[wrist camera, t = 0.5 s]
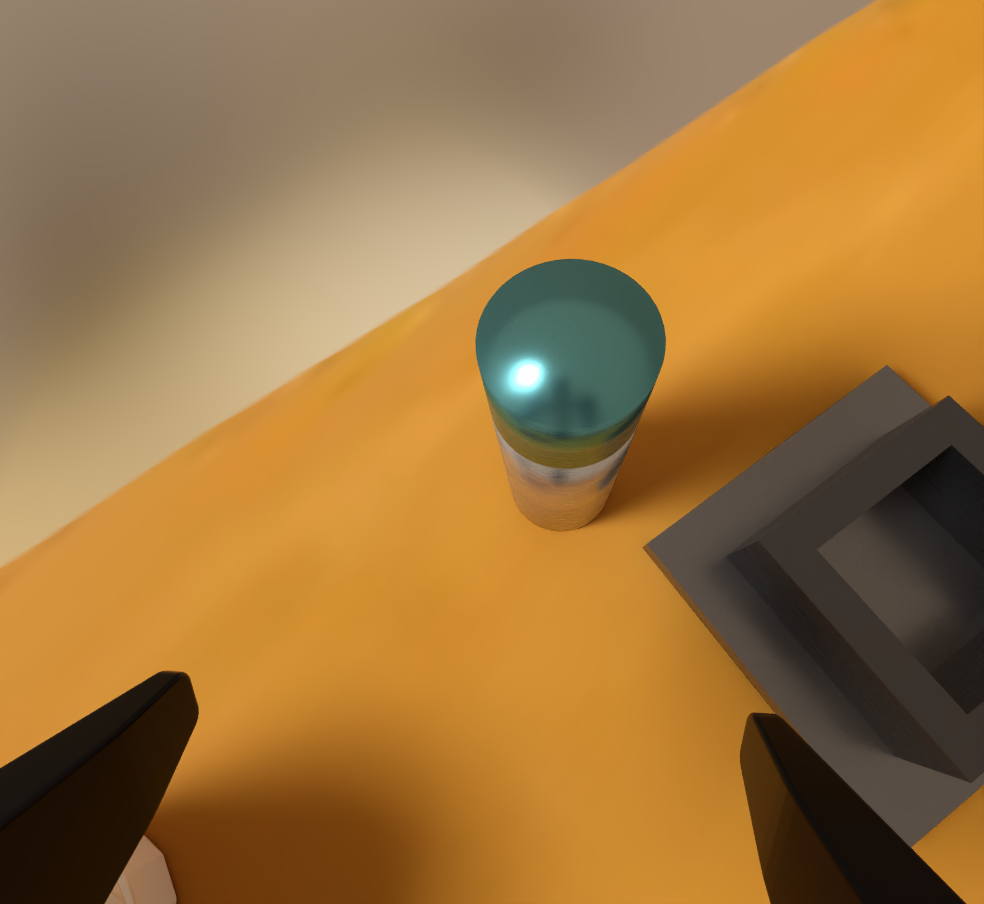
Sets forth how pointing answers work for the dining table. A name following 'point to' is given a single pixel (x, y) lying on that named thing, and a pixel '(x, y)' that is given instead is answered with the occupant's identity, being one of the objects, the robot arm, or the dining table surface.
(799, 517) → the docking mount
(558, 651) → the dining table surface
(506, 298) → the teal and silver cylinder
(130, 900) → the white cup
